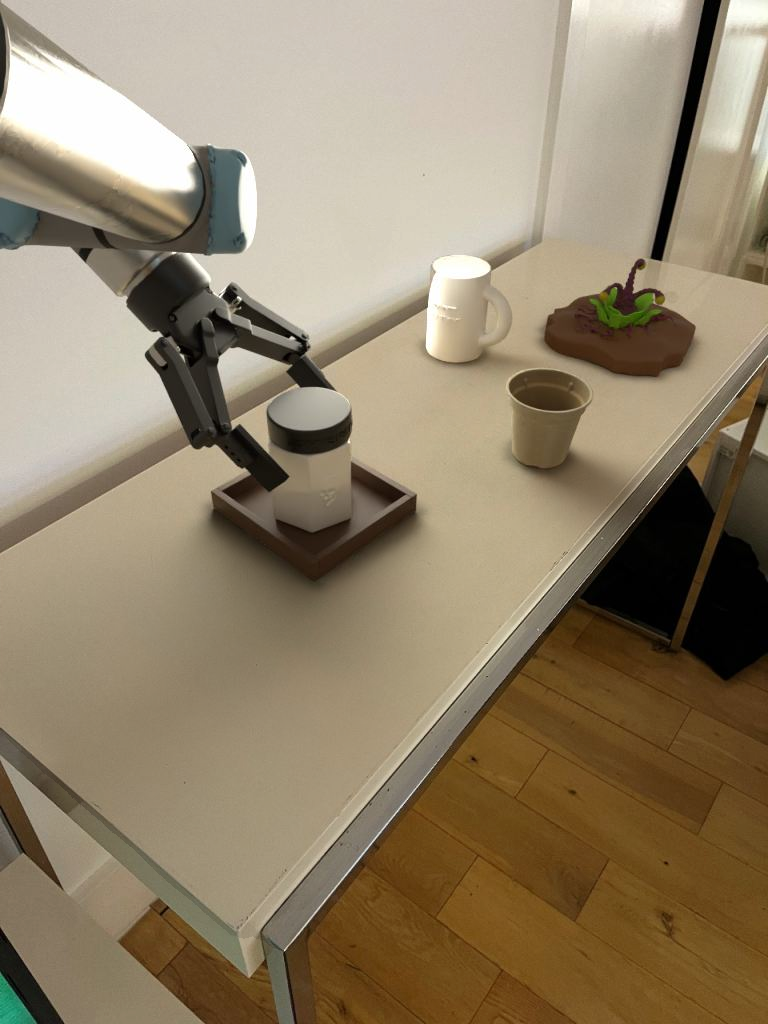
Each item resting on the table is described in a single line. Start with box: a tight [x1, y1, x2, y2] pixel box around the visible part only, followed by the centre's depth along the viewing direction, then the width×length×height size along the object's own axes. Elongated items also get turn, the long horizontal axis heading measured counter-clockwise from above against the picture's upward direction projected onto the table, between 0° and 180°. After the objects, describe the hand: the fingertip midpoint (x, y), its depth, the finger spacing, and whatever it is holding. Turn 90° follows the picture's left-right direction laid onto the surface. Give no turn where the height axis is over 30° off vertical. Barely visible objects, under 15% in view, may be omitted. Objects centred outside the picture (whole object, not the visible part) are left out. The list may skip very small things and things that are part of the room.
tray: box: [210, 455, 418, 582], centre depth 81 cm, size 15×16×2 cm
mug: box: [425, 254, 513, 364], centre depth 104 cm, size 8×12×12 cm
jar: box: [265, 387, 354, 533], centre depth 77 cm, size 9×8×12 cm
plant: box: [543, 258, 697, 377], centre depth 109 cm, size 20×20×11 cm
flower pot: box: [505, 367, 594, 469], centre depth 87 cm, size 9×9×9 cm
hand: (310, 445), depth 76 cm, fingers open, 13 cm apart
